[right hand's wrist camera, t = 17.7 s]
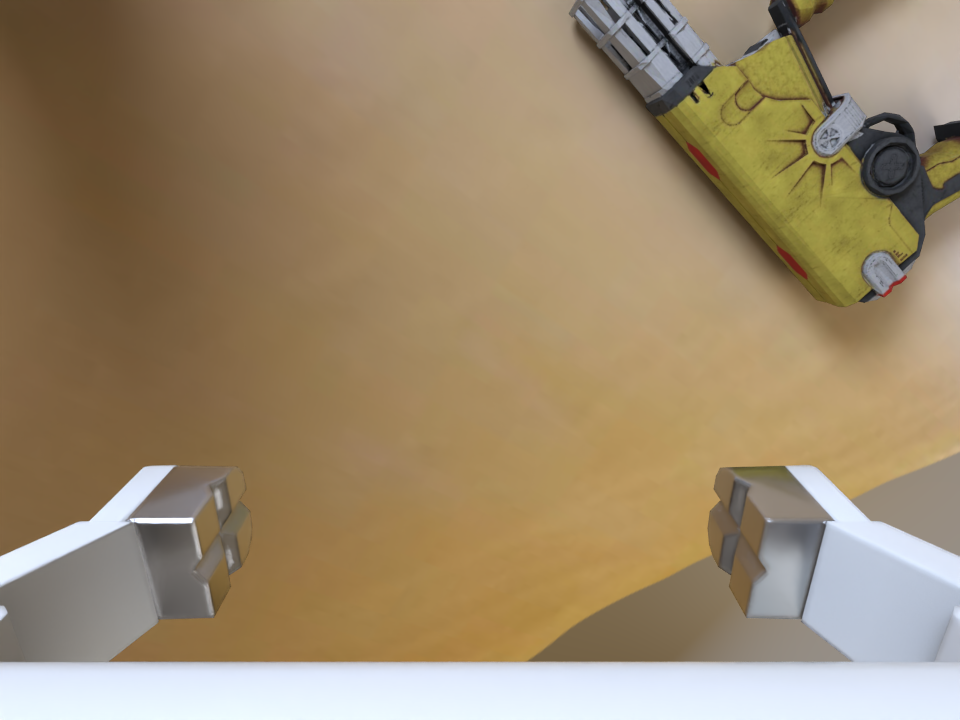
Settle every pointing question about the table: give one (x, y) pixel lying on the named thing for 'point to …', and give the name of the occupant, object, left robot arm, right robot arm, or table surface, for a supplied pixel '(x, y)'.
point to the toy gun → (787, 145)
